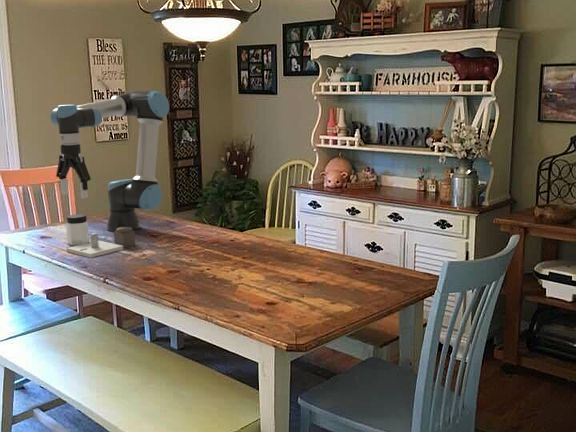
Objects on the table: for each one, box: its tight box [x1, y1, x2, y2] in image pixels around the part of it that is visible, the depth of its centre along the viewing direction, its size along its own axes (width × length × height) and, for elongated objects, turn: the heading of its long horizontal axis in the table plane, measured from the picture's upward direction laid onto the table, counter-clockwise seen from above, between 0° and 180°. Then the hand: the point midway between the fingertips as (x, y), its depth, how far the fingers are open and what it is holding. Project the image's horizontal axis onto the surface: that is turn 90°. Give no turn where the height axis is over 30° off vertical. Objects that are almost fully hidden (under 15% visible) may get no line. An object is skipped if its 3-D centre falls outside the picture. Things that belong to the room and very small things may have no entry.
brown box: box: [113, 227, 136, 249], centre depth 277 cm, size 7×7×8 cm
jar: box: [65, 213, 90, 246], centre depth 281 cm, size 9×8×12 cm
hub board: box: [66, 232, 124, 258], centre depth 269 cm, size 16×16×7 cm
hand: (74, 196), depth 265 cm, fingers open, 13 cm apart
